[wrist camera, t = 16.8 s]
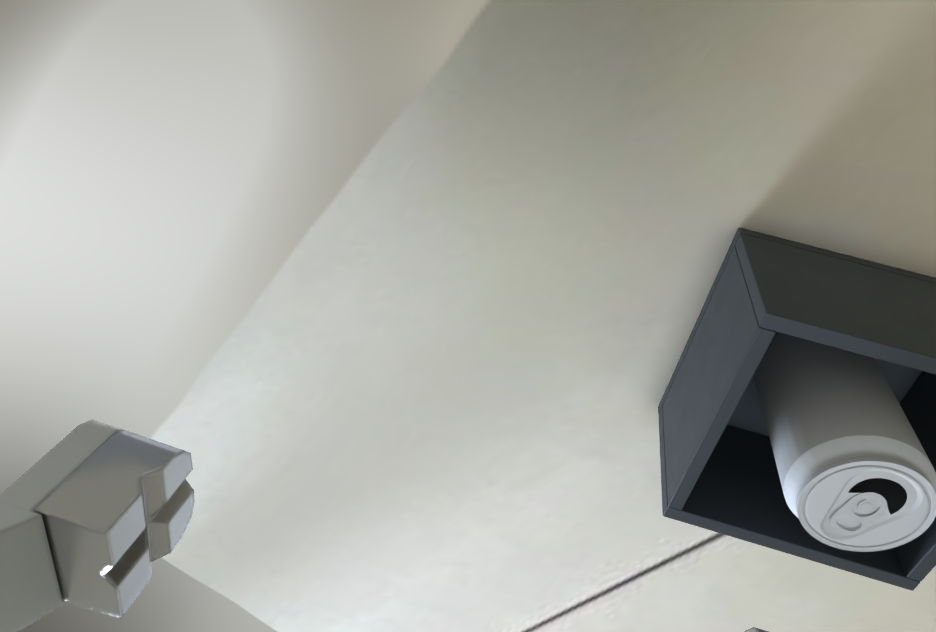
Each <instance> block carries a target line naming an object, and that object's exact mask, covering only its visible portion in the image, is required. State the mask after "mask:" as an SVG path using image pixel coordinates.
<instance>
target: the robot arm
mask: <svg viewBox="0 0 936 632" xmlns="http://www.w3.org/2000/svg"><path fill="white" fill-rule="evenodd" d="M192 470H193V468H192V459H191V453H189V452H186V451H184V450H181V449H178V448H175V447H172V446H169V445H166V444H163V443H160V442H157V441H155V440H152V439H149V438H146V437H143V436H140V435H137V434H134V433H131V432H128V431H125V430H122V429H119V428H116V427H113V426H110V425H107V424H104V423H100V422H98V421H95V420H90V421H88V422H85V423H83V424H80V425H79V426H77V427H76V428H75V429H74V430H73V431H72V432H71V433H70V434H69V435H67V436H66V437H65V438H64V439H63V440H62V441H60V442H59V443H58V444H57V445H56V446H55V447H54V448H53V449H51V450H50V451H49V452H48V453H47V454H46V455H45V456H44V457H42V458H41V459H40V460H39V461H38V462H37V463H36V464H35V465H33V466H32V467H31V468H30V469H29V470H28V471H27V472H25V473H24V474H23V475H22V476H21V477H20V478H19V479H18V480H16V481H15V482H14V483H13V484H12V485H11V486H10V487H9V488H7V489H6V490H5V491H4V492H3V493H2V494H1V495H0V632H19V631H20V630H22V629H23V628H25V627H27V626H29V625H30V624H32V623H34V622H36V621H37V620H39V619H40V618H42V617H44V616H46V615H47V614H49V613H51V612H52V611H54V610H56V609H58V608H59V607H61V606H62V605H63V601H65V602H68V603H71V604H74V605H78V606H81V607H84V608H88V609H91V610H94V611H97V612H100V613H104V614H107V615H110V616H113V617H117V618H120V619H121V618H122V617H123V615H124V614H125V612H126V611H127V610H128V609H129V607H130V606H131V605H132V603H133V602H134V601H135V599H136V598H137V597H138V595H139V594H140V593H141V591H142V590H143V589H144V588H145V586H146V585H147V583H148V582H149V581H150V580H151V562H152V561H154V560H156V559H158V558H160V557H163V556H165V555H167V554H169V553H171V551H172V550H173V549H174V547H175V546H176V544H177V543H178V542H179V540H180V539H181V537H182V536H183V534H184V532H185V529H186V527H187V525H188V523H189V521H190V519H191V516H192V511H193V506H194V490H193V489H192V487H191V486H190V485H189V483H188V482H187V481H186V479H185V478H186V477H187V476H188V475H189V473H190V472H191V471H192ZM745 632H768V631H765V630H761V629H758V628H755V627H753V628H751V629H748V630H746V631H745Z"/></svg>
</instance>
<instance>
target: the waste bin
mask: <svg viewBox="0 0 936 632" xmlns="http://www.w3.org/2000/svg"><path fill="white" fill-rule="evenodd" d="M778 333H784V334H788V335H791V336H795V337H799V338H803V339H806V340H810V341H814V342H817V343H821V344H825V345H828V346H832V347H836V348H840V349H843V350H847V351H851V352H854V353H858V354H862V355H865V356H869V357H873V358H875V359H876V361H877V363H878V365H879V366H880V368H881V370H882V372H883V374H884V376H885V378H886V380H887V381H888V383H889V385H890V387H891V389H892V391H893V393H894V395H895V396H896V398H897V400H898V402H899V404H900V406H901V408H902V410H903V411H904V413H905V415H906V417H907V419H908V421H909V423H910V425H911V426H912V428H913V430H914V432H915V434H916V436H917V438H918V440H919V441H920V443H921V445H922V447H923V449H924V451H925V453H926V455H927V456H928V458H929V460H930V462H931V464H932V466H933V468H934V470H935V472H936V278H932V277H928V276H924V275H920V274H916V273H913V272H909V271H905V270H901V269H897V268H893V267H889V266H885V265H882V264H878V263H874V262H870V261H866V260H862V259H858V258H854V257H851V256H847V255H843V254H839V253H835V252H831V251H827V250H823V249H820V248H816V247H812V246H808V245H804V244H800V243H796V242H792V241H789V240H785V239H781V238H777V237H773V236H769V235H765V234H761V233H758V232H754V231H750V230H746V229H742V228H738V230H737V233H736V235H735V237H734V239H733V241H732V244H731V246H730V248H729V250H728V253H727V255H726V257H725V259H724V262H723V264H722V266H721V268H720V271H719V273H718V275H717V277H716V279H715V282H714V284H713V286H712V288H711V291H710V293H709V295H708V297H707V300H706V302H705V304H704V306H703V308H702V311H701V313H700V315H699V317H698V320H697V322H696V324H695V326H694V329H693V331H692V333H691V335H690V337H689V340H688V342H687V344H686V346H685V349H684V351H683V353H682V355H681V358H680V360H679V362H678V364H677V366H676V369H675V371H674V373H673V375H672V378H671V380H670V382H669V384H668V387H667V389H666V391H665V393H664V395H663V398H662V400H661V402H660V404H659V407H658V413H659V435H660V459H661V483H662V507H663V516H665V517H668V518H672V519H675V520H678V521H682V522H685V523H688V524H692V525H695V526H698V527H702V528H705V529H708V530H712V531H715V532H718V533H722V534H725V535H728V536H732V537H735V538H738V539H742V540H745V541H748V542H752V543H755V544H758V545H762V546H765V547H769V548H772V549H775V550H779V551H782V552H785V553H789V554H792V555H795V556H799V557H802V558H805V559H809V560H812V561H815V562H819V563H822V564H825V565H829V566H832V567H835V568H839V569H842V570H845V571H849V572H852V573H855V574H859V575H862V576H865V577H869V578H872V579H875V580H879V581H882V582H885V583H889V584H892V585H895V586H899V587H902V588H905V589H909V590H914V589H915V588H916V587H917V585H918V584H919V583H920V581H922V580H923V579H924V578H925V576H926V575H927V574H928V573H929V572H930V571H931V570H932V569H933V568H934V566H935V565H936V517H935V519H934V521H933V522H932V524H931V525H930V526H929V528H928V529H927V530H926V531H925V532H923V533H922V534H921V535H920V536H918V537H917V538H915V539H913V540H912V541H910V542H908V543H906V544H903V545H901V546H898V547H895V548H891V549H887V550H881V551H872V552H857V551H848V550H842V549H838V548H835V547H831V546H829V545H827V544H824V543H822V542H820V541H819V540H817V539H815V538H814V537H813V536H811V535H810V534H809V533H808V532H807V531H806V530H805V529H804V527H803V526H802V524H801V522H800V520H799V518H797V517H796V516H795V515H794V514H793V512H792V511H791V510H790V508H789V507H788V505H787V503H786V500H785V498H784V494H783V490H782V486H781V482H780V477H779V473H778V469H777V465H776V461H775V457H774V453H773V449H772V445H771V441H770V437H769V433H768V429H767V425H766V421H765V417H764V413H763V409H762V405H761V401H760V397H759V393H758V389H757V385H756V381H755V375H754V373H755V371H756V369H757V367H758V366H759V364H760V362H761V360H762V358H763V356H764V354H765V352H766V351H767V349H768V347H769V345H770V343H771V341H772V339H773V337H774V336H775V335H777V334H778Z"/></svg>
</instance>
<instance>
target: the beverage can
mask: <svg viewBox="0 0 936 632" xmlns="http://www.w3.org/2000/svg"><path fill="white" fill-rule="evenodd" d="M754 375H755V381H756V385H757V389H758V393H759V397H760V401H761V405H762V409H763V413H764V417H765V421H766V425H767V429H768V433H769V437H770V441H771V445H772V449H773V453H774V457H775V461H776V465H777V469H778V473H779V477H780V482H781V486H782V490H783V494H784V498H785V500H786V503H787V505H788V507H789V508H790V510H791V511H792V512H793V514H794V515H795V516H796V517H797V518H799V520H800V522H801V524H802V526H803V527H804V529H805V530H806V531H807V532H808V533H809V534H810V535H811V536H813V537H814V538H815V539H817V540H819V541H820V542H822V543H824V544H827V545H829V546H831V547H835V548H838V549H842V550H848V551H857V552H872V551H881V550H887V549H891V548H895V547H898V546H901V545H903V544H906V543H908V542H910V541H912V540H913V539H915V538H917V537H918V536H920V535H921V534H922V533H923V532H925V531H926V530H927V529H928V528H929V526H930V525H931V524H932V522H933V521H934V519H935V517H936V472H935V470H934V468H933V466H932V464H931V462H930V460H929V458H928V456H927V455H926V453H925V451H924V449H923V447H922V445H921V443H920V441H919V440H918V438H917V436H916V434H915V432H914V430H913V428H912V426H911V425H910V423H909V421H908V419H907V417H906V415H905V413H904V411H903V410H902V408H901V406H900V404H899V402H898V400H897V398H896V396H895V395H894V393H893V391H892V389H891V387H890V385H889V383H888V381H887V380H886V378H885V376H884V374H883V372H882V370H881V368H880V366H879V365H878V363H877V361H876V359H875V358H873V357H869V356H865V355H862V354H858V353H854V352H851V351H847V350H843V349H840V348H836V347H832V346H828V345H825V344H821V343H817V342H814V341H810V340H806V339H803V338H799V337H795V336H791V335H788V334H784V333H778V334H777V335H775V336H774V337H773V339H772V341H771V343H770V345H769V347H768V349H767V351H766V352H765V354H764V356H763V358H762V360H761V362H760V364H759V366H758V367H757V369H756V371H755V373H754Z"/></svg>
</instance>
